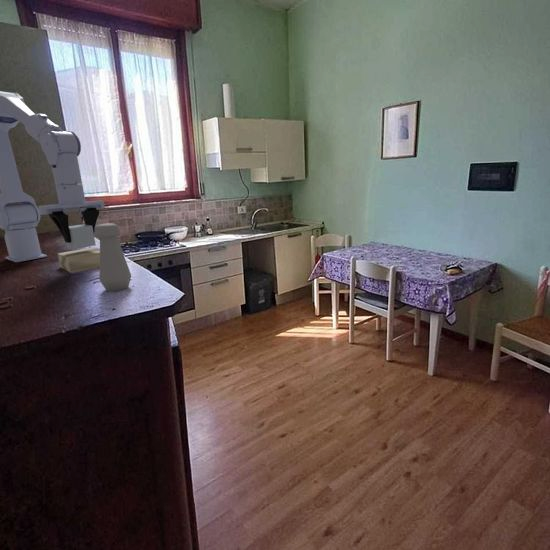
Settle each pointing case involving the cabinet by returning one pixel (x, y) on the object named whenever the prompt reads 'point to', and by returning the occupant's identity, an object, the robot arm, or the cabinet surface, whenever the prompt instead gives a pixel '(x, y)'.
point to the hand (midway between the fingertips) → (80, 240)
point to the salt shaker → (112, 259)
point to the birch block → (80, 259)
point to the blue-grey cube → (81, 236)
